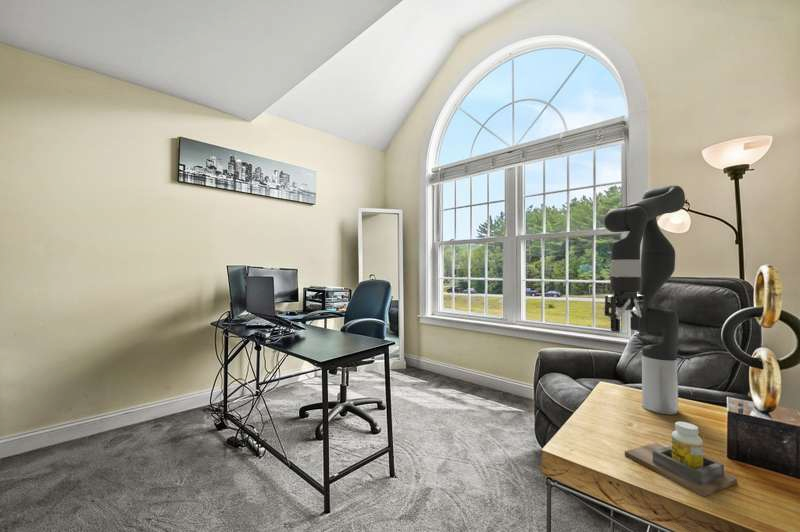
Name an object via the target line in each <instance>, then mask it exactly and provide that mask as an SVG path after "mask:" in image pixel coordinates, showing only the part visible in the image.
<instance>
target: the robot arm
mask: <svg viewBox="0 0 800 532" xmlns="http://www.w3.org/2000/svg"><path fill="white" fill-rule="evenodd" d="M685 203H686V196H685V191H684V189H683V187H681V186H679V185H667V186H666V185H665V186H661V187H655V188H650V189H647V190H645V191H644V193H643V194H642V199H639V200H637V201H635V202H632V203H630V204H628V205H624V206H619V207H615V208H612V209H610V210H609V211H608V212H606V213H605V216H604V218H603V224H604V227H605V228H606V230H608V231H609V232H612V233H624V232H626V233H627V232H628V234H627V236H626V237H624V238H621V239H618V240H617V239H616V240H613V242H612V243H611V249H610V251H611V255H610V256H611V257H610V258H611V259H610V261H611V262H610V270H609V271H610V277H609V279H610V283H609V285H610V287H609V288H610V291H612V292H613V295H611V294H610V295H605V297H604V316H605V317H608V318H609V319H610V331H612V332H613V333H620V332H621V316H622V314H624V313H626V312H628V313H629V315H630V330H632V331H637V332H638V333H639V334H641V335H645V336H651V337H659V338H660V337H661V338H662V341H661V342H659V343H655V344H649V345H648V344H647V345H643V347H642V349H641V406H642V408H644V409H646V410H647V411H650V412H653V413H658V414H662V415H676V414H678V411H679V382H678V342H679V340H678V339H679V338H678V337H679V327H680V325H679V324H680V321H679V315H678V313H677V312H676V310H673V309H668V308H667V309H666V308H665V309H664V308H654V307H653V302H654V299H655V297H656V295H657V294H658V292H659V291H660V290H661V288H662V287H663V286H664V285H665V284H666V283H667V281H668V280H669V279H670V278H671V276H672V275H673V274H674V272H675V269H676V268H675V267H676V250H675V247H674V246H673V244H672V243H671V242H670V240H669V239H668V238H667V237H666V236H665V235H664V233H663V232H662V231H661V229H660V227H659V225H658V221H657V217H659V216H663V215H666V214H672V213H676V212H679V211H682V209H683V208H684V206H685Z"/></svg>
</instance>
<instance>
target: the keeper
mask: <svg viewBox="0 0 800 532" xmlns="http://www.w3.org/2000/svg"><path fill="white" fill-rule="evenodd" d="M624 456H625V457H627V456H628V457H627V458H629V459H631V460H633V461H634V462H637V463H638V462H639V464H640V465H643V466H645V467H647V468H648V469H650V470H652V471H654V472H656V473H658V474H660V475H662V476H663V475H664V477H665V476H666V478H667V477H668V479H669V478H670V479H669V480H671V481H673V482H675V483H677V484H678V485H681V486H683V487H685V488H686V489H689V490H691V491H693V492H694V493H696V494H698V495H700V496H702V497H704V498H705V497H706V496H709V495H711V494H715V493H717V492H719V491H723V490H724V489H726V488H729V487H731V486H733V485H736V484H738V478H737V477H734V476H733V475H730V474H728V473H725V464H724V463H721V462H719V461H717V460H714V459H712V458H710V457H708V456H705V455H703V468H700V469H697V470H696V469H694V468H692V467H690V466H688V465H686V464H683V463H681V462H679V461H677V460H675V459H673V458H672V445H669V446H664V445H662V444H660V443H658V442H653V443H649V444H646V445H642V446H639V447H636V448H631V449H628V450H625V451H624Z"/></svg>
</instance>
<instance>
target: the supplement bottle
mask: <svg viewBox="0 0 800 532" xmlns="http://www.w3.org/2000/svg"><path fill="white" fill-rule="evenodd" d="M674 429H675V430H673V431H672V432H671V446H672V458H673V459H675V460H677V461H679V462H681V463H683V464H686V465H688V466H690V467H692V468H694V469H696V470H697V469H700V468H703V456H704V443H703V442H704V441H703V439H702V438H701V437H700V436H699V433H700V432H699V427H698V426H697V425H695V424H693V423H690V422H685V421H676V422H675V423H674Z"/></svg>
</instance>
